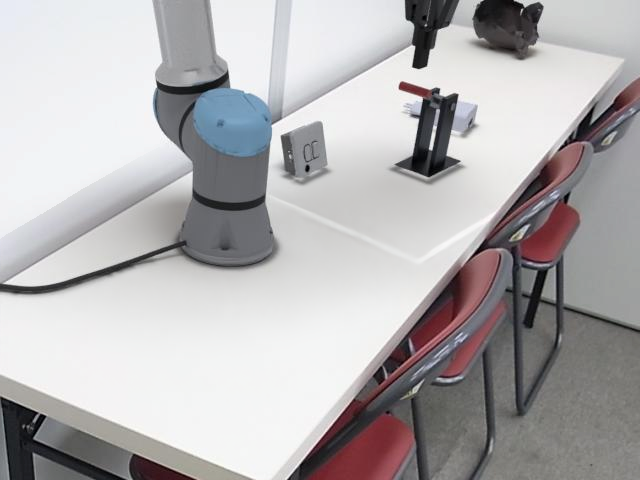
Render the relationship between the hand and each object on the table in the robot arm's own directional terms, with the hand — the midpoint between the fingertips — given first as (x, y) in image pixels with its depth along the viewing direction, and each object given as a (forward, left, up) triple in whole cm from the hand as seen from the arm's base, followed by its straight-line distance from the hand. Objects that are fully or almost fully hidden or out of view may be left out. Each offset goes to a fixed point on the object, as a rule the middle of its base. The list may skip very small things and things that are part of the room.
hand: (419, 66), depth 160 cm
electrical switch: (-13, +14, -22) cm, 29 cm away
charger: (+31, +16, -22) cm, 41 cm away
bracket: (+10, +1, -22) cm, 24 cm away
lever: (+5, +1, -8) cm, 9 cm away
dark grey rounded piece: (+93, +42, -22) cm, 104 cm away
